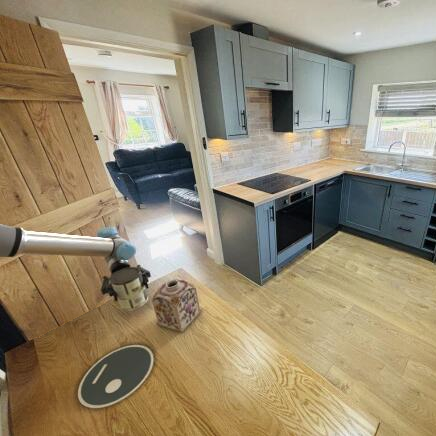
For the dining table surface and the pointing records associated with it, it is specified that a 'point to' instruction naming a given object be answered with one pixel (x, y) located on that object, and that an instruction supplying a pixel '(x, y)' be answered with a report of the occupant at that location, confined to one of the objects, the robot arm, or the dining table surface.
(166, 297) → the decorative jar
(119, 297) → the coffee can
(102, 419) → the dining table surface
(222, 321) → the dining table surface
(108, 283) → the robot arm
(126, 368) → the board
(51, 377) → the dining table surface
